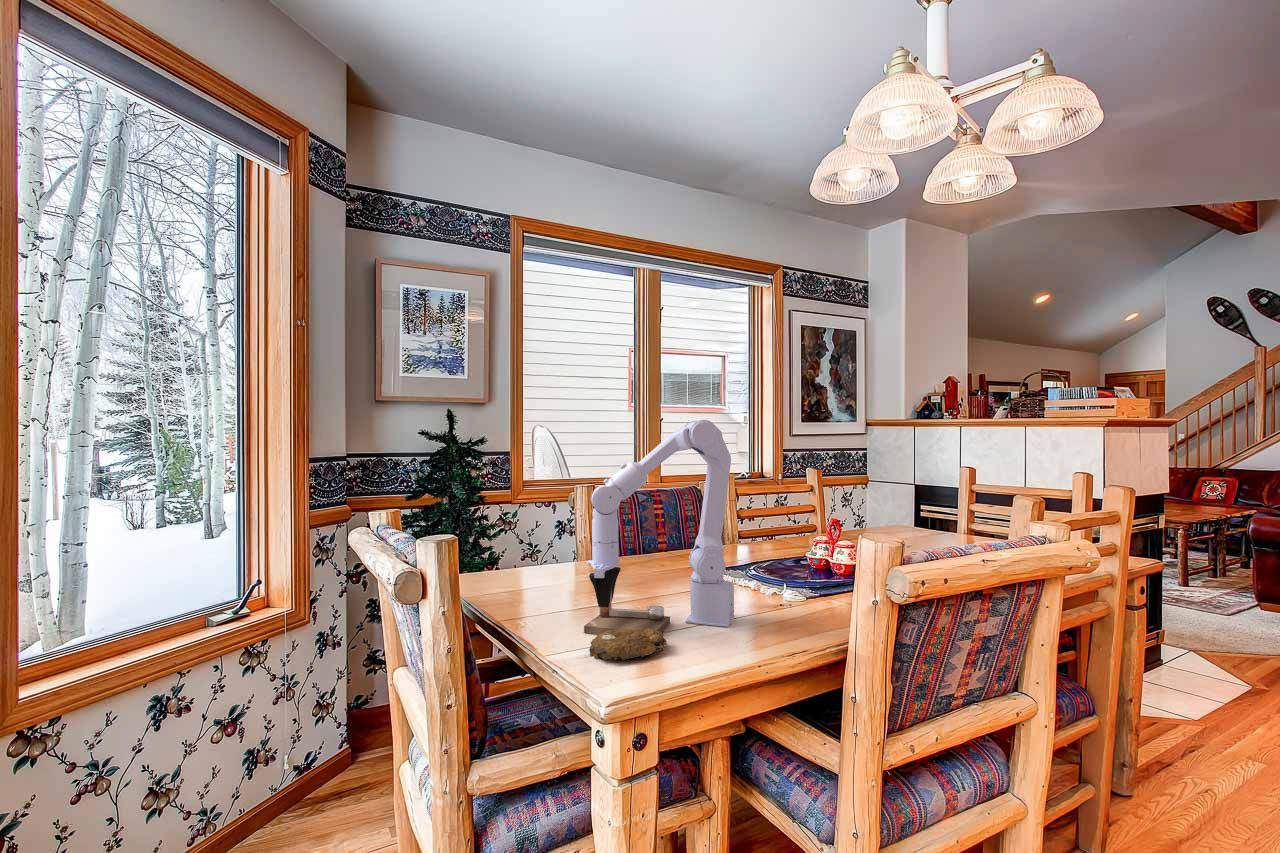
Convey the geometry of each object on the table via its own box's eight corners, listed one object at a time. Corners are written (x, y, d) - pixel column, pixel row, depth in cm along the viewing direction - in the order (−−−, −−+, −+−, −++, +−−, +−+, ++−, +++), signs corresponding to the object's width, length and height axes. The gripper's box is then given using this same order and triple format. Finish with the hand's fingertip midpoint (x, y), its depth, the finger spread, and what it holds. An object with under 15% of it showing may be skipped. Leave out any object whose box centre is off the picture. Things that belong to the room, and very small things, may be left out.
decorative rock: (646, 639, 125) (580, 655, 118) (645, 619, 126) (579, 634, 118) (679, 653, 116) (609, 671, 108) (678, 630, 116) (608, 648, 108)
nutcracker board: (670, 623, 134) (670, 616, 134) (653, 640, 123) (653, 632, 123) (605, 617, 139) (605, 609, 139) (584, 633, 127) (584, 625, 127)
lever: (665, 615, 134) (665, 585, 134) (662, 620, 130) (662, 589, 130) (601, 612, 136) (601, 582, 136) (597, 616, 133) (597, 586, 133)
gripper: (593, 535, 142) (593, 595, 142) (579, 546, 127) (579, 613, 127) (624, 536, 141) (624, 595, 141) (613, 547, 126) (613, 614, 126)
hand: (605, 604), depth 134 cm, fingers open, 4 cm apart
